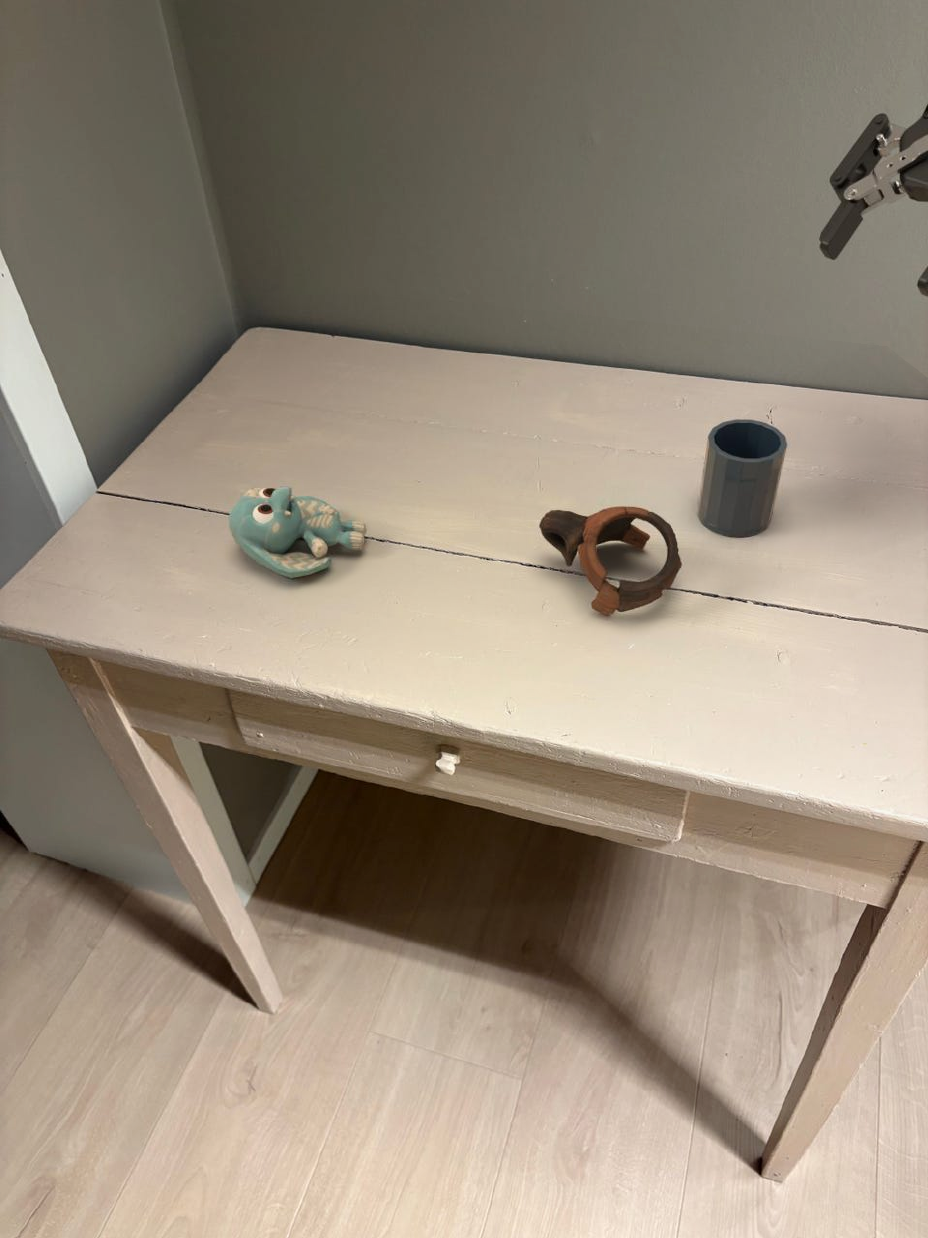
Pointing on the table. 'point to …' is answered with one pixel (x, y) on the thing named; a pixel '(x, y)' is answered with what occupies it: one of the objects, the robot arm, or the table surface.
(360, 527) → the stuffed animal
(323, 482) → the table surface
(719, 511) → the cup
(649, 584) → the brown broken clay pot
